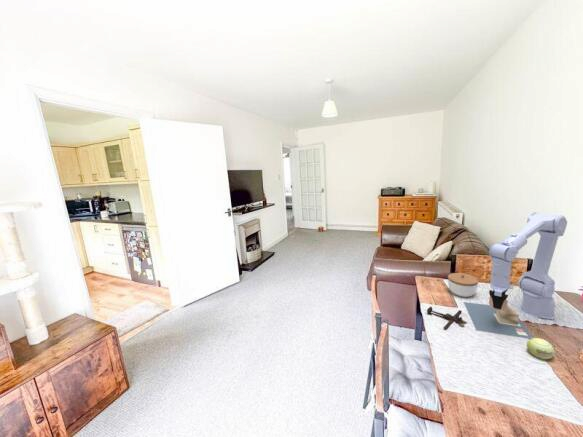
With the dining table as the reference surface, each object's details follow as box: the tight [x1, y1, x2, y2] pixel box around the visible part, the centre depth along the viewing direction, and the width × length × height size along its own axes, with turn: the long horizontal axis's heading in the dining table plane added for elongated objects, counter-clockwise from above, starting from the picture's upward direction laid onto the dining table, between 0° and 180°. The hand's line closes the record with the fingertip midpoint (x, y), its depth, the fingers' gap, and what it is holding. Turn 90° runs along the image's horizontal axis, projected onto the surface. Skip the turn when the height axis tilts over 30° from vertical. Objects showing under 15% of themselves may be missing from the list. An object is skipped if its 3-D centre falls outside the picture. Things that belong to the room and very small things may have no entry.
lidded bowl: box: [447, 272, 479, 298], centre depth 124 cm, size 13×13×11 cm
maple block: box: [496, 306, 520, 325], centre depth 101 cm, size 6×6×4 cm
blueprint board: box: [463, 301, 535, 340], centre depth 104 cm, size 18×22×1 cm
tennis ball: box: [526, 337, 555, 360], centre depth 83 cm, size 6×7×7 cm
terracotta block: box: [488, 295, 509, 311], centre depth 98 cm, size 4×4×4 cm
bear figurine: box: [426, 306, 467, 330], centre depth 106 cm, size 18×4×14 cm
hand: (497, 304), depth 98 cm, fingers closed on terracotta block, 6 cm apart
